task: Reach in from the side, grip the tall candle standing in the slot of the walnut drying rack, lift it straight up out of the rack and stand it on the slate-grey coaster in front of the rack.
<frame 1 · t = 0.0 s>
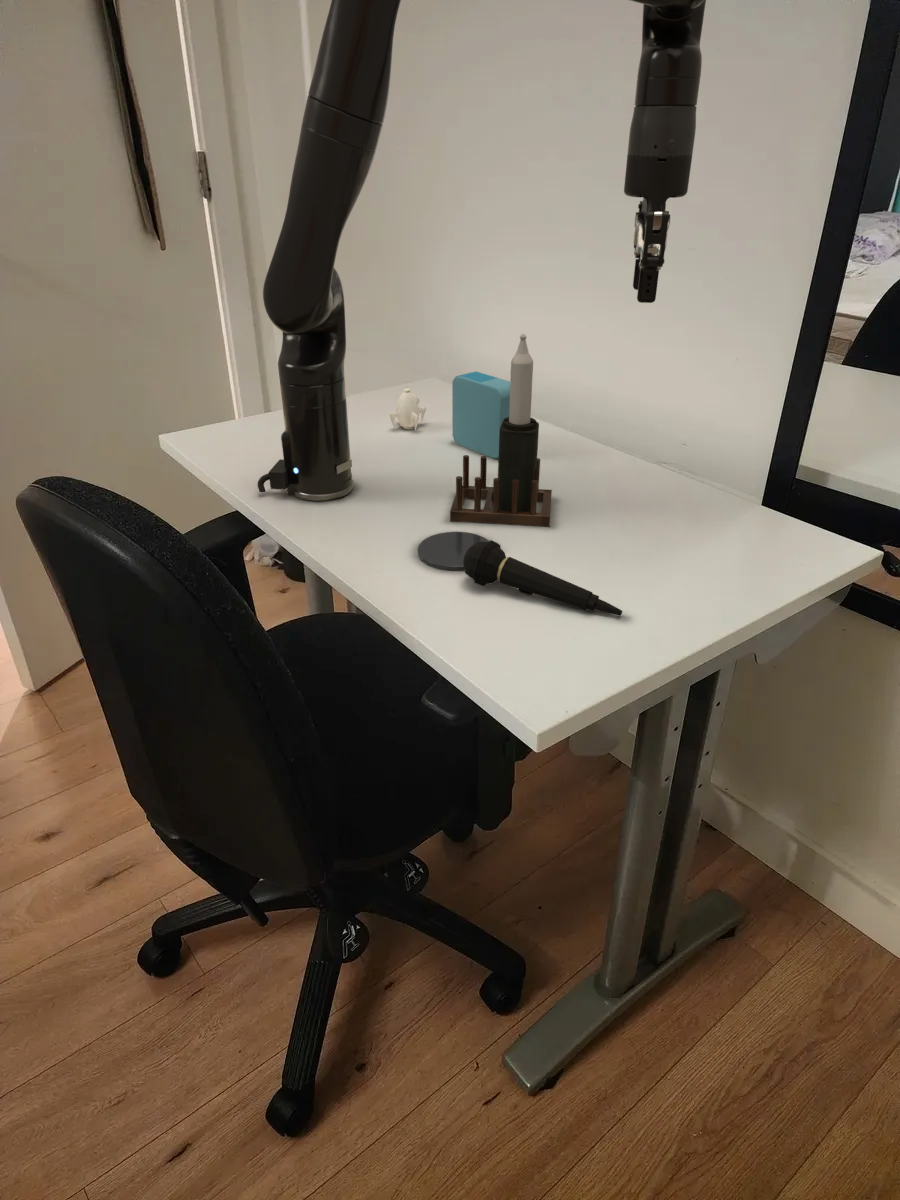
hand: (643, 295, 103), 29 cm above the table, tool pointing down, fingers open, 8 cm apart
drying rack: (502, 510, 116), on the table
slate coaster: (455, 552, 105), on the table
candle: (515, 512, 116), resting in drying rack
data package: (484, 449, 138), on the table
microphone: (535, 600, 95), on the table
rocket toy: (408, 428, 148), on the table
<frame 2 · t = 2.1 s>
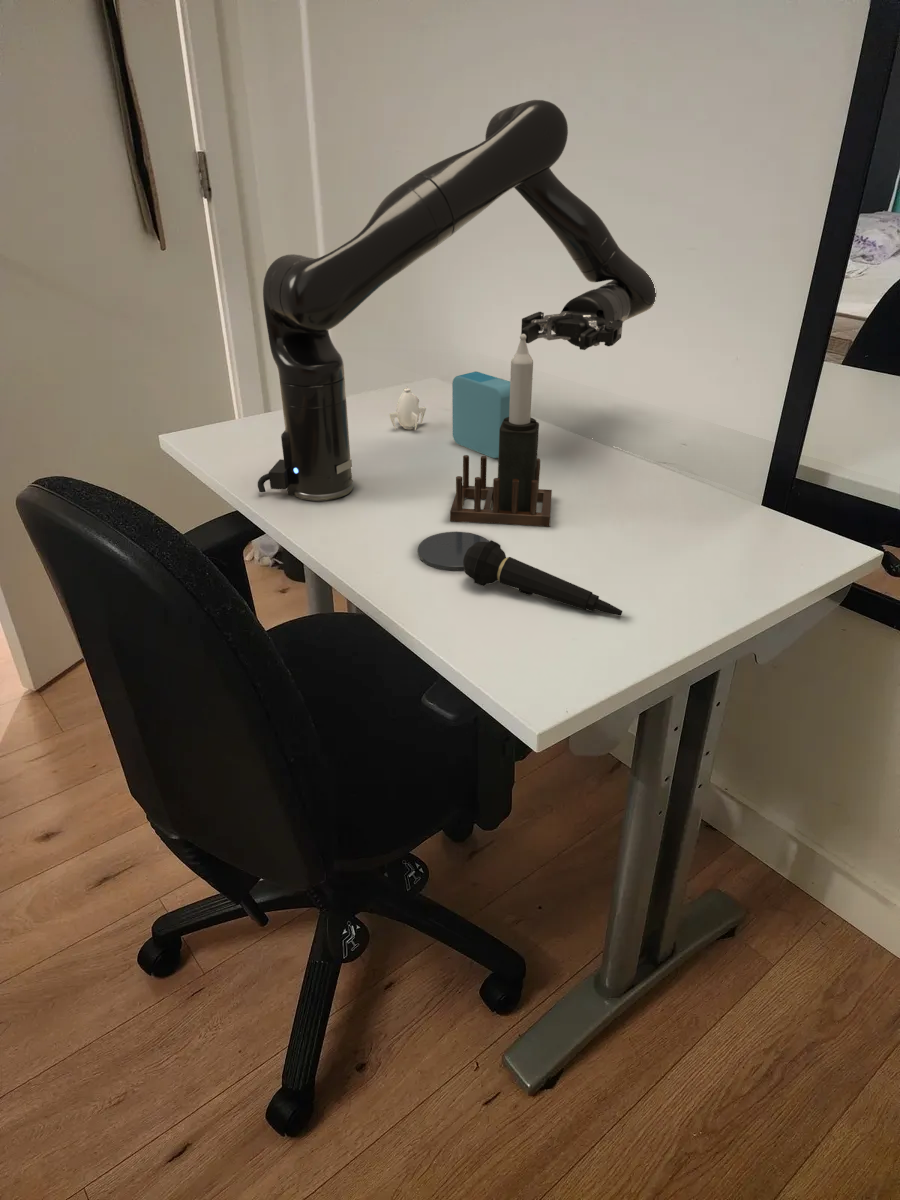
hand: (553, 339, 113), 22 cm above the table, tool horizontal, fingers open, 8 cm apart
nothing on the table moved.
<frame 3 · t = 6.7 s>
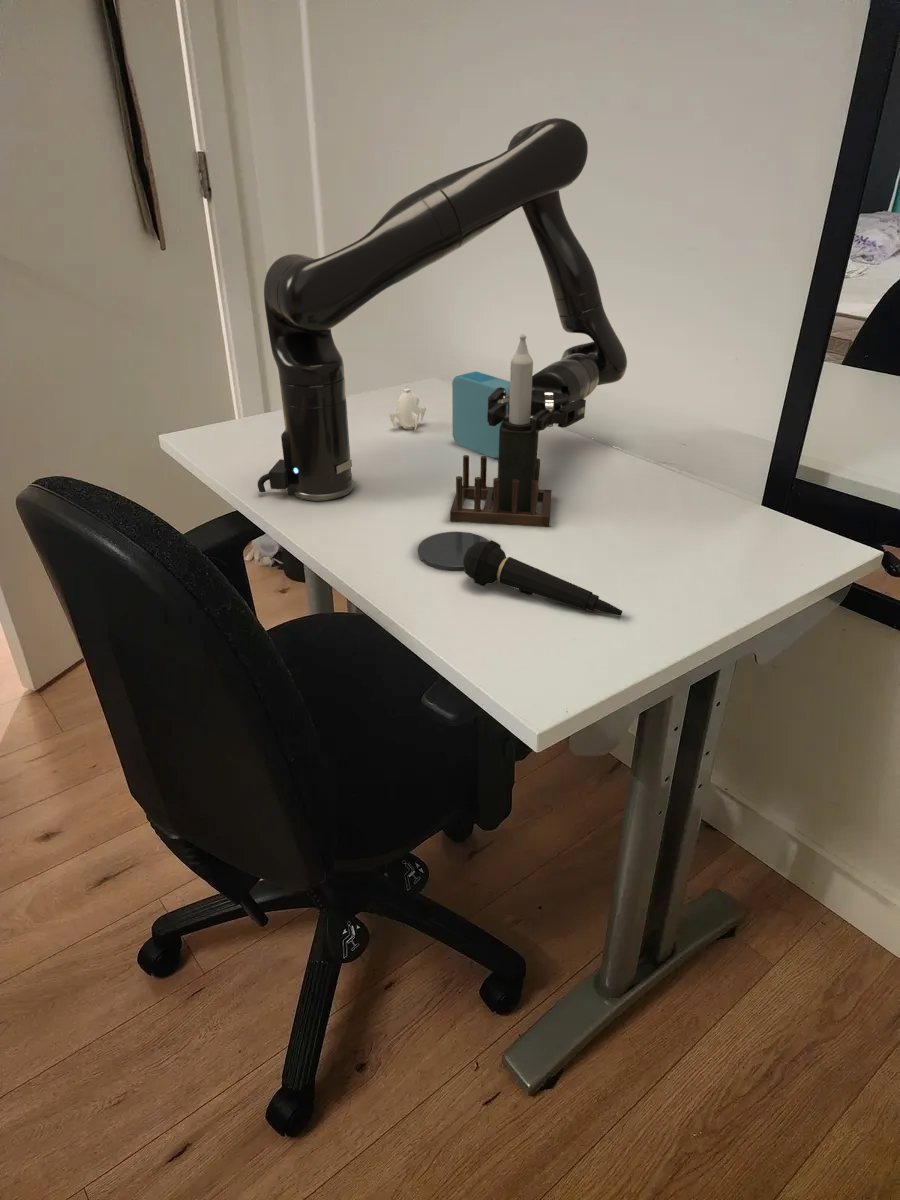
hand: (512, 422, 107), 14 cm above the table, tool horizontal, fingers closed on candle, 5 cm apart
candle: (515, 512, 116), resting in drying rack, touching gripper
everything else where it was.
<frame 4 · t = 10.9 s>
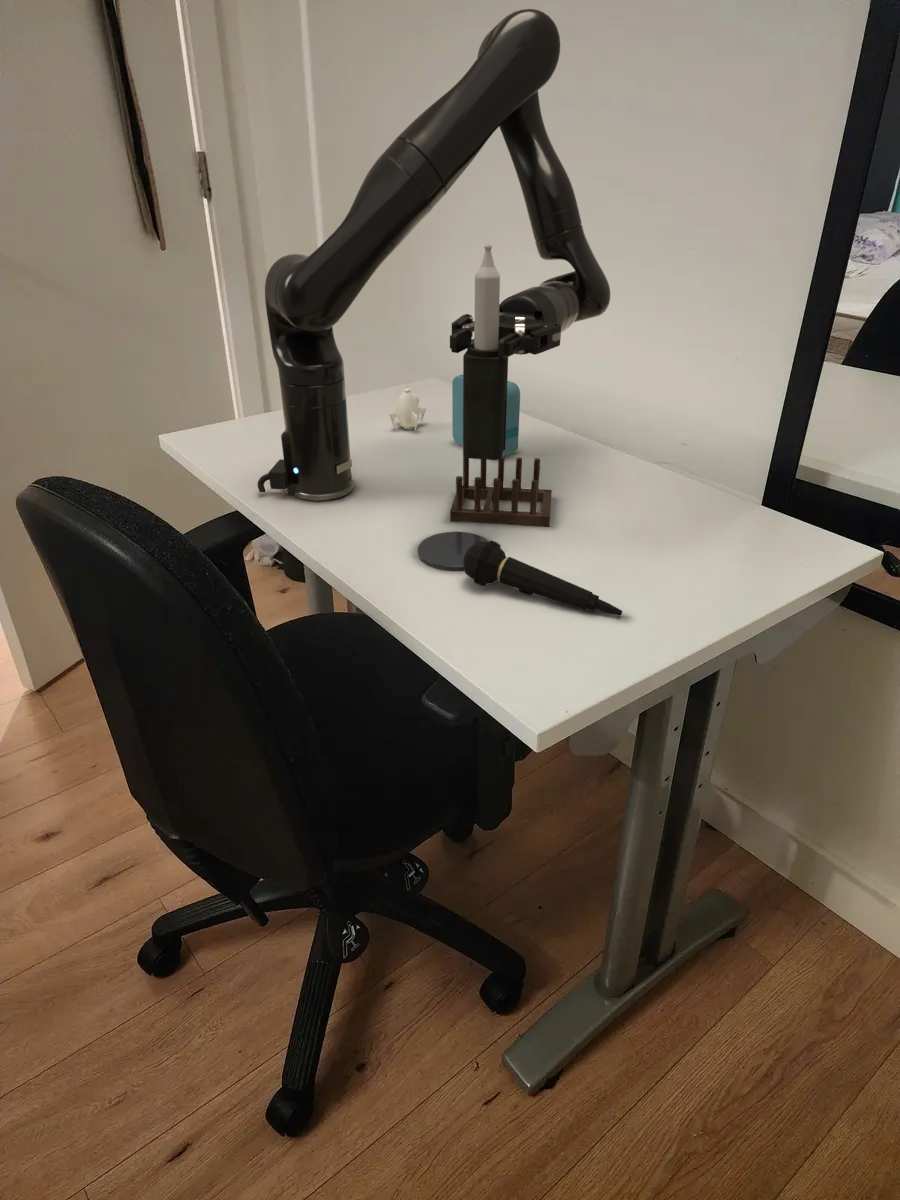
hand: (477, 347, 95), 26 cm above the table, tool horizontal, fingers closed on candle, 5 cm apart
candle: (484, 453, 104), point 12 cm above the table, touching gripper
everything else where it was.
when the fingers open (15 cm above the table, at t = 15.4 s): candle stays where it is, resting on slate coaster.
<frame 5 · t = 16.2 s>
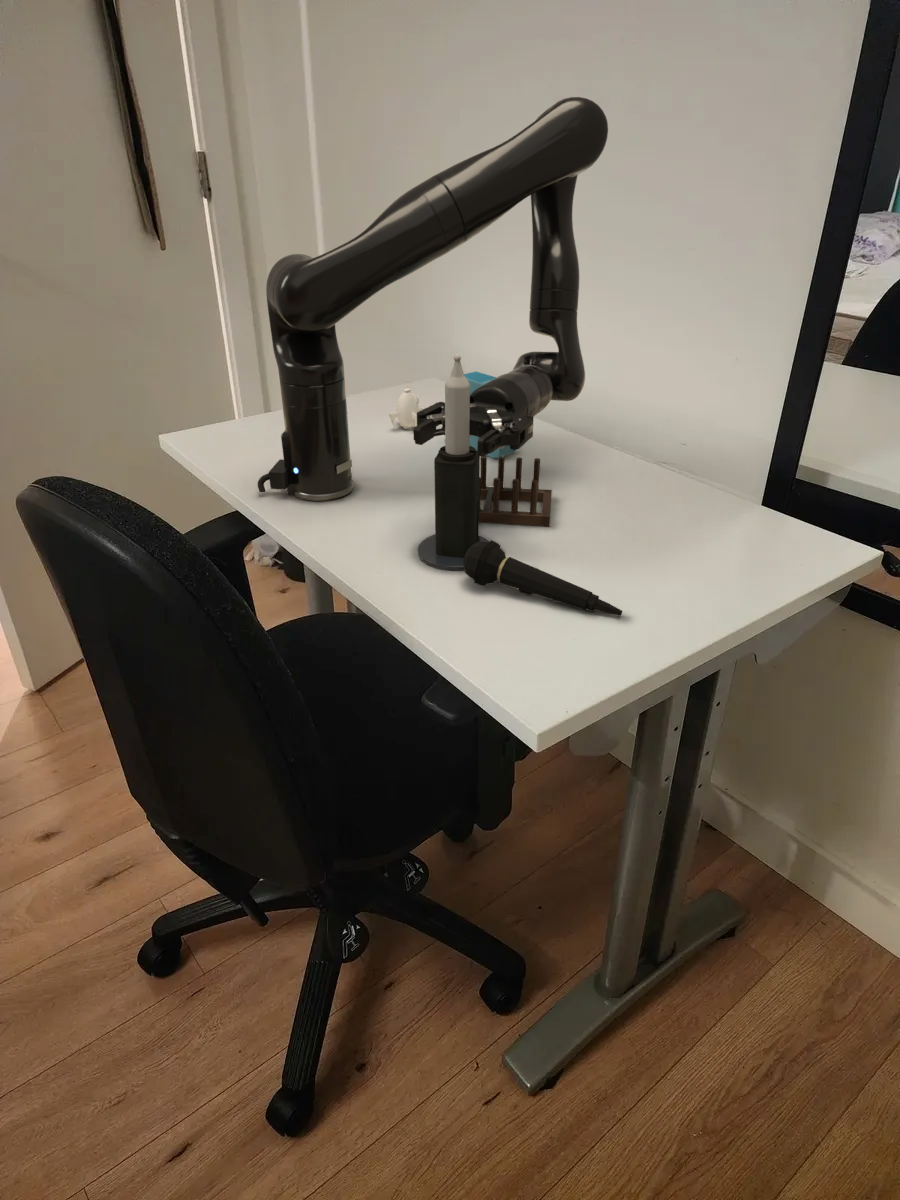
hand: (448, 442, 96), 16 cm above the table, tool horizontal, fingers open, 8 cm apart
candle: (457, 549, 105), resting on slate coaster
everything else where it was.
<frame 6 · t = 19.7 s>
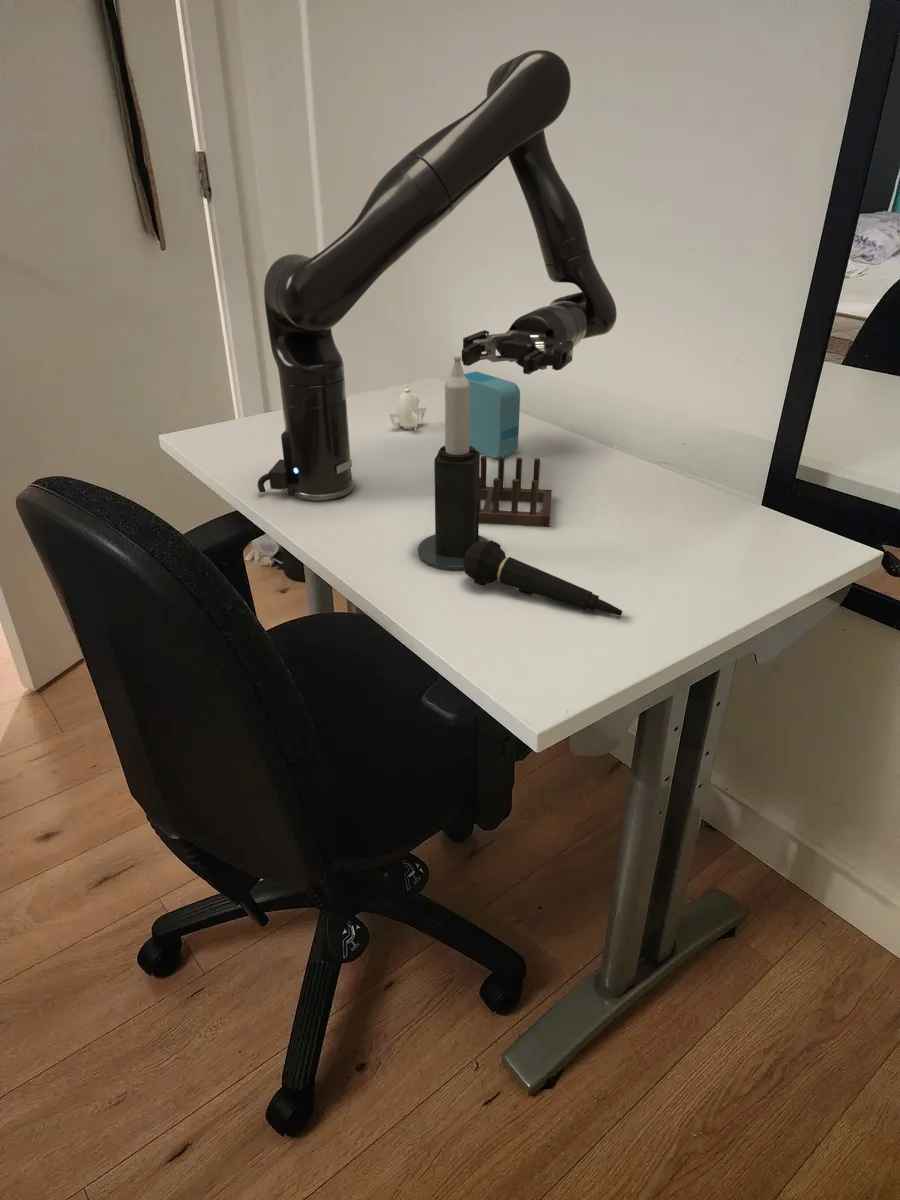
hand: (495, 361, 102), 22 cm above the table, tool horizontal, fingers open, 8 cm apart
nothing on the table moved.
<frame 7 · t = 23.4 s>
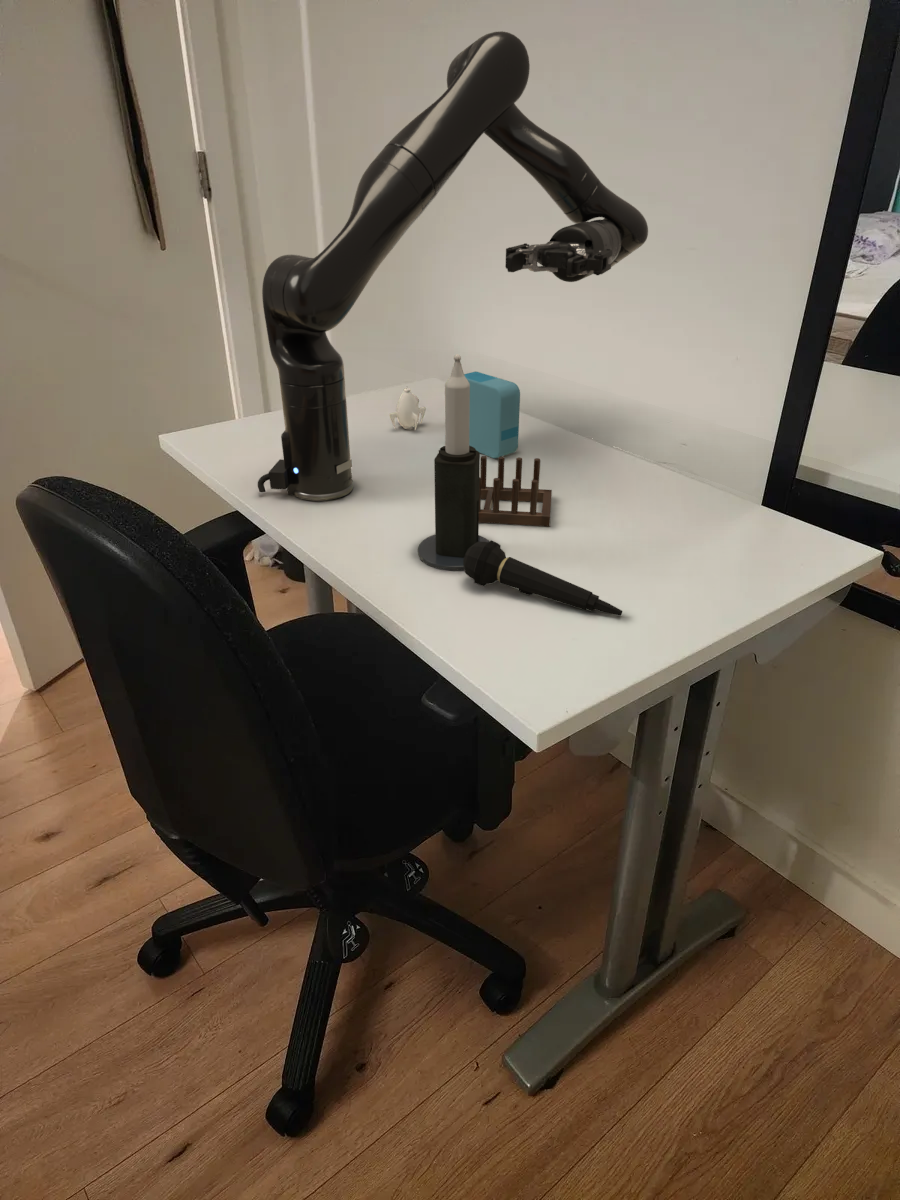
hand: (539, 266, 106), 32 cm above the table, tool horizontal, fingers open, 8 cm apart
nothing on the table moved.
at the end: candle 0.2 cm off-centre on the slate coaster, point 0.4 cm above the slate coaster's base; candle tilted 0°; the gripper is holding nothing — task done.
